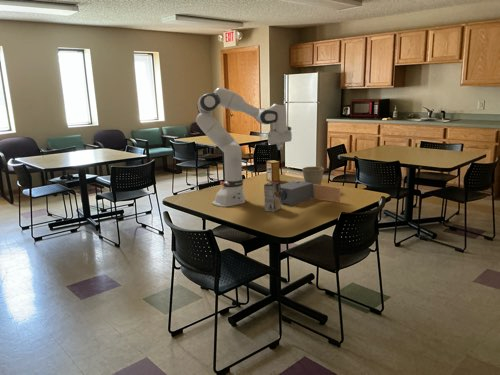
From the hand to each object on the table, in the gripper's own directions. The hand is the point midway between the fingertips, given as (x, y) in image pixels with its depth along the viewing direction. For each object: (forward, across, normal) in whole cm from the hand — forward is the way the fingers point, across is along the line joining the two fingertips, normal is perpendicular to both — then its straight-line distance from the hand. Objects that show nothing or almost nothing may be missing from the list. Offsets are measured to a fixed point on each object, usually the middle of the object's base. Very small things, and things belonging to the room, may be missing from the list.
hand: (280, 149), depth 270 cm
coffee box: (+31, -29, -19) cm, 47 cm away
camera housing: (+31, -4, -15) cm, 35 cm away
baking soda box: (+31, +30, +34) cm, 55 cm away
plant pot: (+31, +23, -10) cm, 40 cm away
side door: (+31, +7, -32) cm, 45 cm away
